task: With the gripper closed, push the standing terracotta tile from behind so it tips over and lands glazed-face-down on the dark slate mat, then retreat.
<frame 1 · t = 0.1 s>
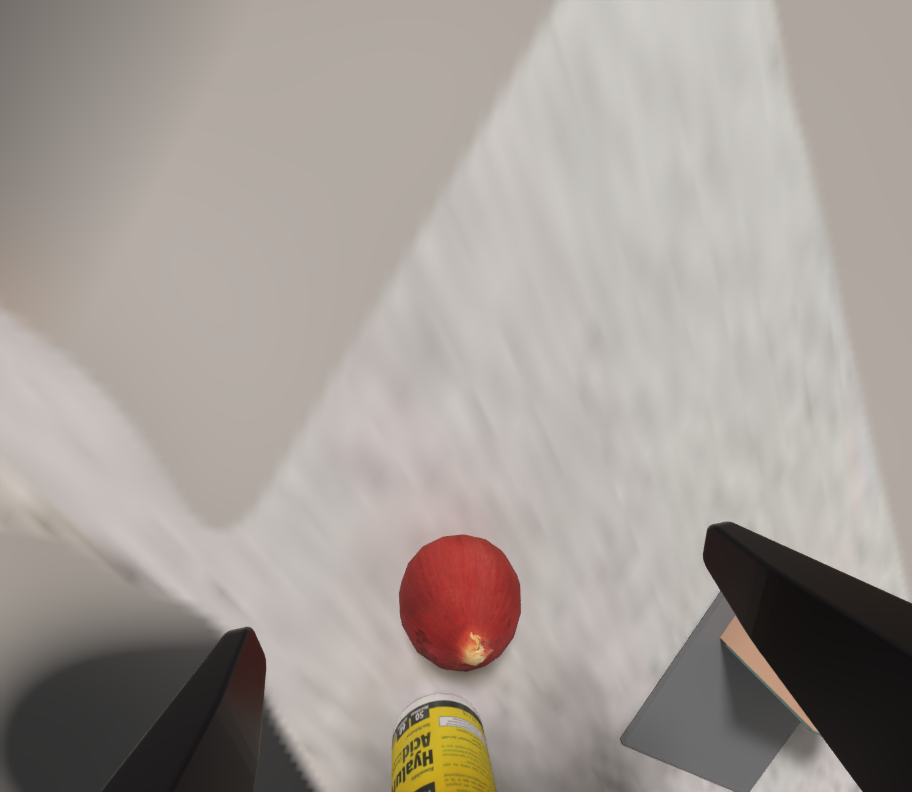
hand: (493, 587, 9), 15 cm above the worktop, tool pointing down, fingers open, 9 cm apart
onion: (449, 555, 26), on the worktop
supplement bottle: (436, 725, 28), on the worktop
slate mat: (737, 687, 30), on the worktop
tile: (773, 649, 29), resting on slate mat
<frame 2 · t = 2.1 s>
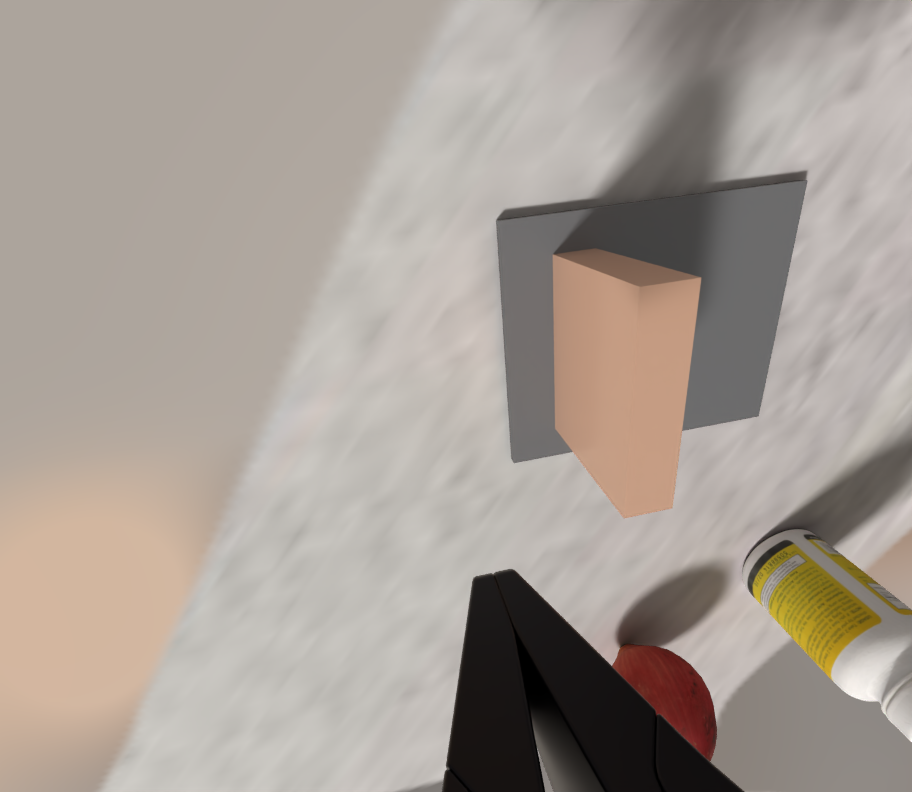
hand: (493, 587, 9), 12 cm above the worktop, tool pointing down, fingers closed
onion: (625, 643, 30), on the worktop
supplement bottle: (774, 557, 29), on the worktop
slate mat: (643, 330, 21), on the worktop
tile: (573, 345, 20), resting on slate mat
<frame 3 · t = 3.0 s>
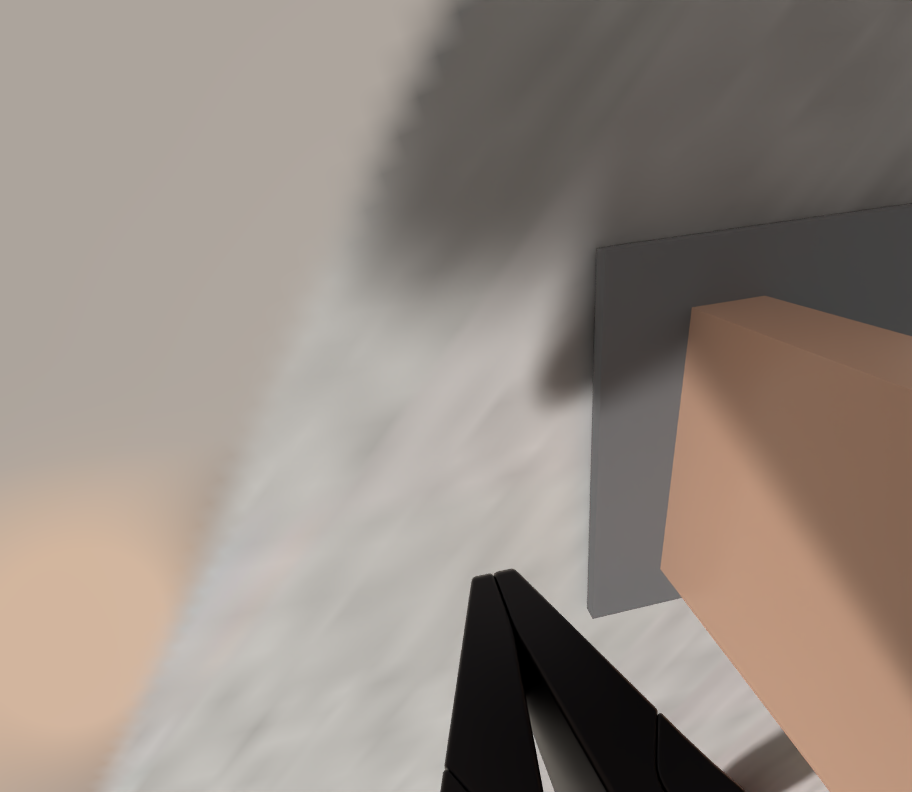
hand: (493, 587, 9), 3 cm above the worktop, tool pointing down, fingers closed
slate mat: (810, 420, 13), on the worktop
tile: (705, 450, 12), resting on slate mat
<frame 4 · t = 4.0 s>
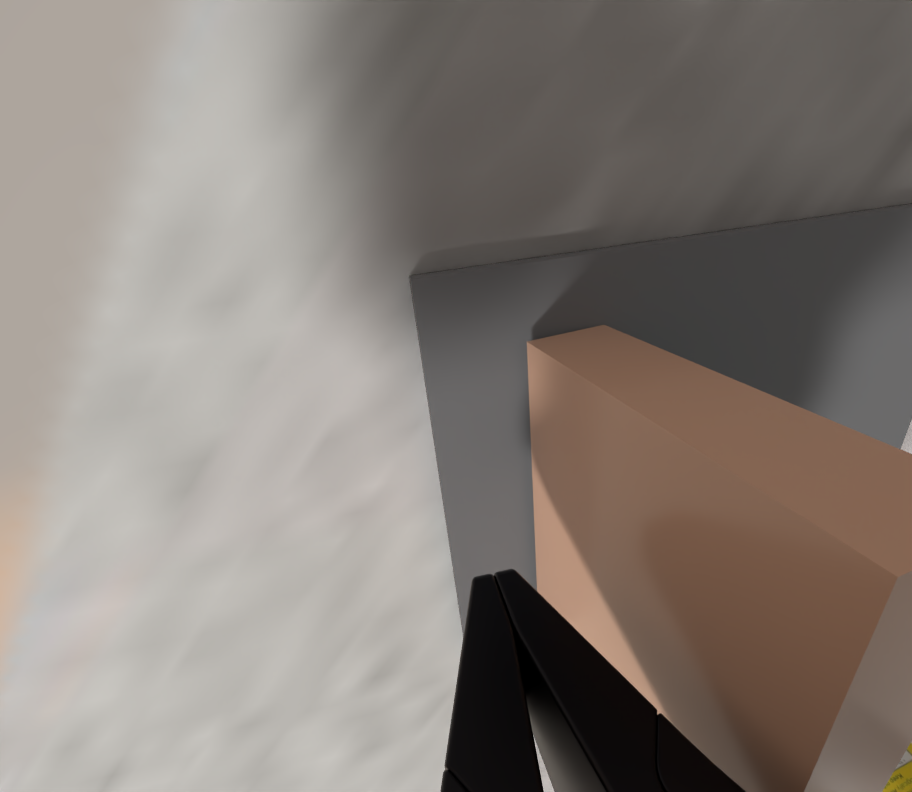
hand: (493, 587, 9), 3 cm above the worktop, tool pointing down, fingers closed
supplement bottle: (851, 718, 21), on the worktop
slate mat: (684, 451, 12), on the worktop
tile: (566, 488, 11), point 1 cm above the worktop, tilted 8°, touching slate mat
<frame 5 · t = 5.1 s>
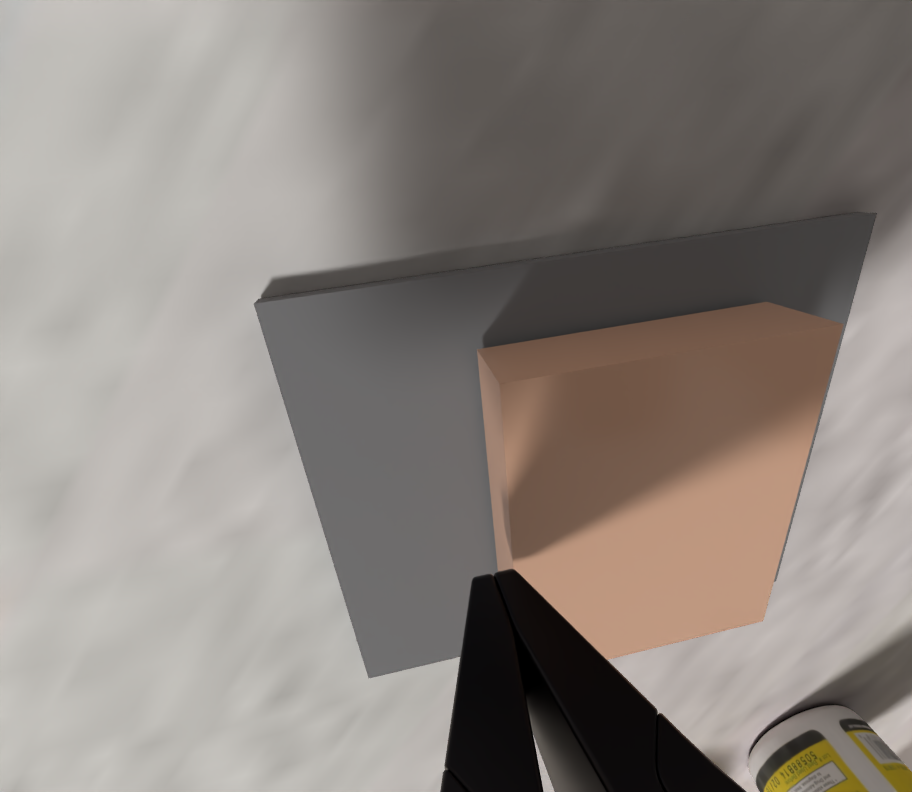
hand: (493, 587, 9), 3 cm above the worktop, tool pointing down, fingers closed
supplement bottle: (794, 734, 21), on the worktop
slate mat: (578, 471, 12), on the worktop
tile: (501, 530, 10), point 2 cm above the worktop, tilted 90°, touching slate mat
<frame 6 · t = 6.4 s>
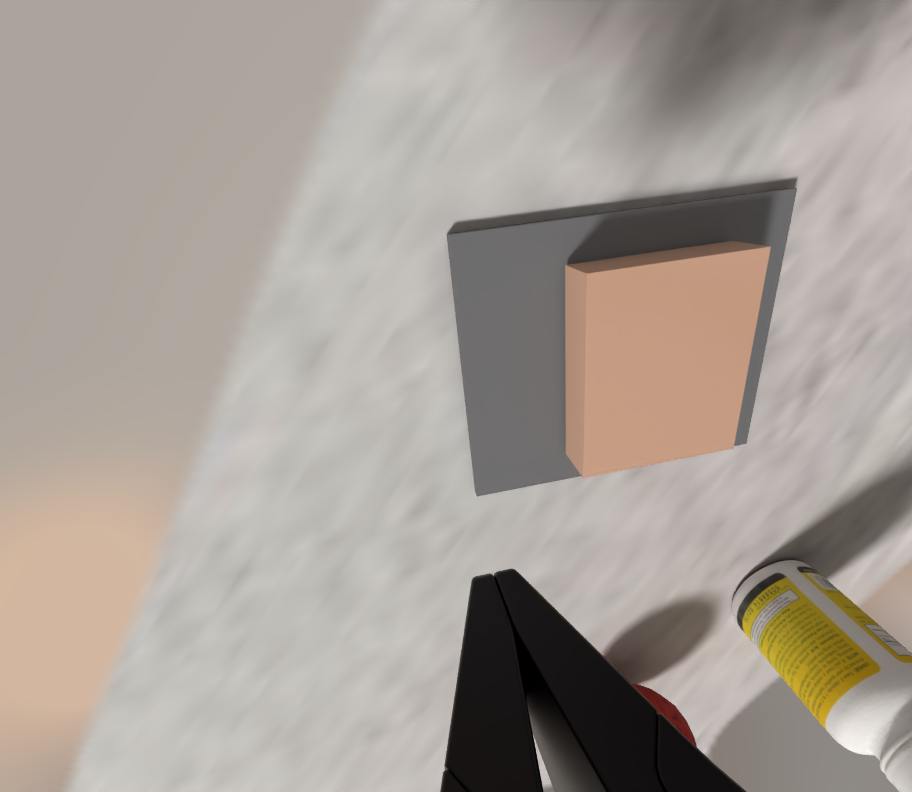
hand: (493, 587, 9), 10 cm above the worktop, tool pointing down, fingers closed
onion: (606, 679, 29), on the worktop
supplement bottle: (766, 588, 27), on the worktop
slate mat: (617, 353, 19), on the worktop
tile: (574, 377, 17), point 2 cm above the worktop, tilted 90°, touching slate mat
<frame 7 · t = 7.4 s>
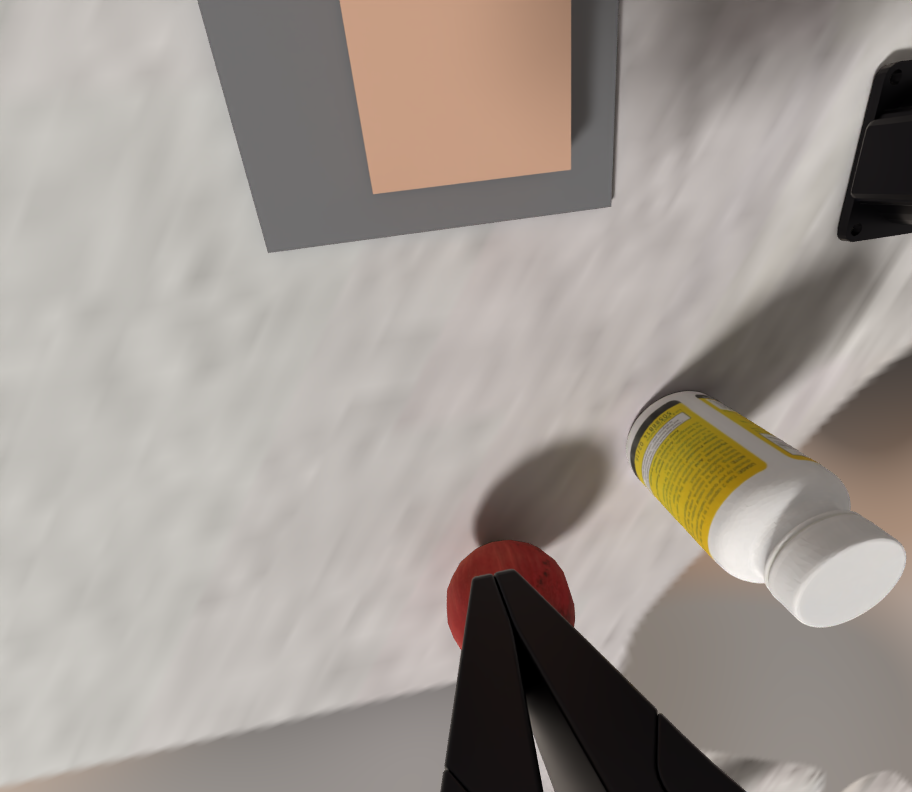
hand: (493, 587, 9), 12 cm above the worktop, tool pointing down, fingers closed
onion: (489, 546, 25), on the worktop
supplement bottle: (669, 434, 24), on the worktop
slate mat: (425, 50, 15), on the worktop
tile: (347, 44, 13), point 2 cm above the worktop, tilted 90°, touching slate mat
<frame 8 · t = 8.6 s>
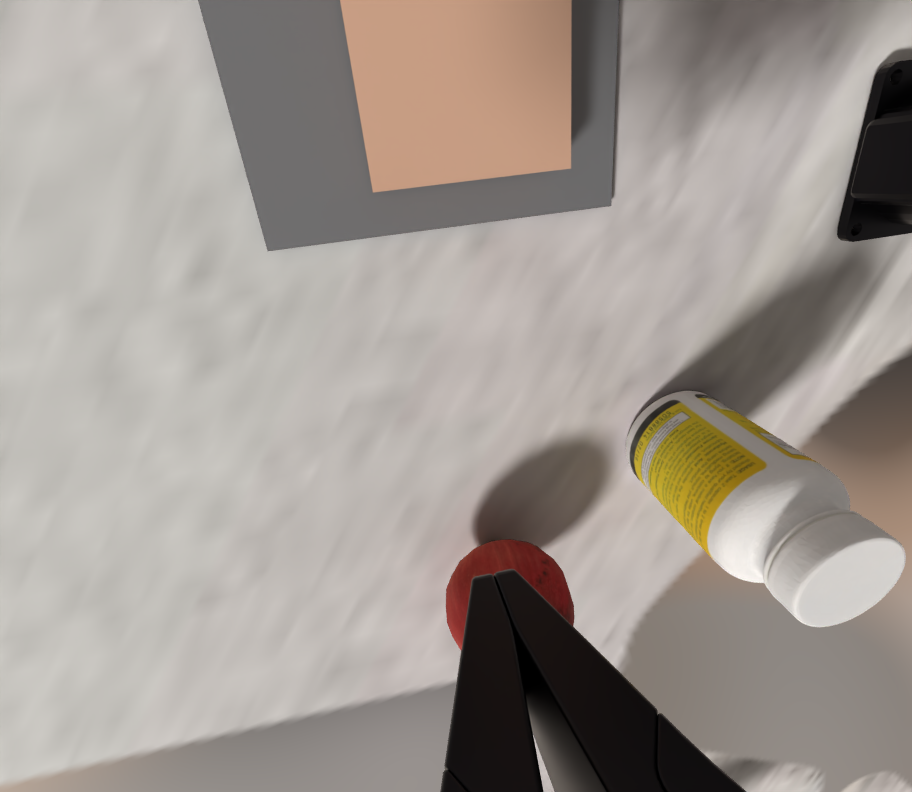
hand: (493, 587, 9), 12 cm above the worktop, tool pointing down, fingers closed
onion: (489, 545, 25), on the worktop
supplement bottle: (668, 433, 24), on the worktop
slate mat: (425, 49, 15), on the worktop
tile: (347, 42, 13), point 2 cm above the worktop, tilted 90°, touching slate mat
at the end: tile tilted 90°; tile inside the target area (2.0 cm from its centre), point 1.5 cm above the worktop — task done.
